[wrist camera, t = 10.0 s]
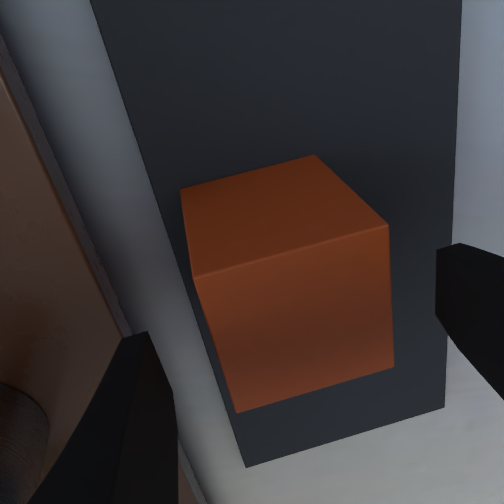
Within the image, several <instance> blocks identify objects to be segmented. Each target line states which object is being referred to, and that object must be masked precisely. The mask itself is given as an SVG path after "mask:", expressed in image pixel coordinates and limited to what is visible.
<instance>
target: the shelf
mask: <svg viewBox="0 0 504 504" xmlns="http://www.w3.org/2000/svg"><path fill="white" fill-rule="evenodd" d="M131 335H133V334H132V332H131V330H130V327H129V325H128V323H127V320H126V318H125V316H124V314H123V311H122V309H121V307H120V304H119V302H118V300H117V298H116V295H115V293H114V291H113V288H112V286H111V284H110V282H109V279H108V277H107V275H106V272H105V270H104V268H103V266H102V263H101V261H100V259H99V256H98V254H97V252H96V250H95V247H94V245H93V243H92V241H91V238H90V236H89V234H88V231H87V229H86V227H85V225H84V222H83V220H82V218H81V215H80V213H79V211H78V209H77V206H76V204H75V202H74V199H73V197H72V195H71V193H70V190H69V188H68V186H67V183H66V181H65V179H64V177H63V174H62V172H61V170H60V167H59V165H58V163H57V161H56V158H55V156H54V154H53V151H52V149H51V147H50V145H49V142H48V140H47V138H46V136H45V133H44V131H43V129H42V126H41V124H40V122H39V120H38V117H37V115H36V113H35V110H34V108H33V106H32V104H31V101H30V99H29V97H28V94H27V92H26V90H25V88H24V85H23V83H22V81H21V78H20V76H19V74H18V72H17V69H16V67H15V65H14V62H13V60H12V58H11V56H10V53H9V51H8V49H7V47H6V44H5V42H4V40H3V37H2V35H1V33H0V383H1V384H4V385H7V386H9V387H12V388H14V389H16V390H18V391H20V392H22V393H23V394H25V395H27V396H28V397H29V398H31V399H32V400H33V401H34V402H35V403H36V404H37V405H38V406H39V407H40V408H41V410H42V411H43V412H44V414H45V416H46V418H47V421H48V424H49V431H50V433H49V441H48V445H47V449H46V454H45V458H44V462H43V467H42V471H41V475H40V479H39V484H38V487H39V485H40V484H41V483H42V481H43V480H44V478H45V477H46V475H47V474H48V472H49V471H50V469H51V467H52V466H53V464H54V463H55V461H56V460H57V458H58V457H59V455H60V453H61V452H62V450H63V448H64V447H65V445H66V443H67V441H68V440H69V438H70V436H71V435H72V433H73V431H74V430H75V428H76V426H77V425H78V423H79V421H80V419H81V418H82V416H83V414H84V412H85V410H86V408H87V406H88V404H89V403H90V401H91V399H92V397H93V395H94V393H95V391H96V389H97V387H98V385H99V383H100V381H101V379H102V377H103V375H104V373H105V371H106V369H107V367H108V365H109V363H110V361H111V359H112V357H113V354H114V352H115V350H116V348H117V346H118V344H119V342H120V341H121V339H122V338H124V337H128V336H131ZM178 490H179V504H207V503H206V501H205V498H204V496H203V494H202V492H201V489H200V487H199V485H198V482H197V480H196V478H195V476H194V473H193V471H192V469H191V466H190V464H189V462H188V460H187V457H186V455H185V453H184V450H183V448H182V446H181V444H180V441H179V439H178Z"/></svg>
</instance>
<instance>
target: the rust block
mask: <svg viewBox="0 0 504 504" xmlns="http://www.w3.org/2000/svg"><path fill="white" fill-rule="evenodd" d="M180 197H181V204H182V210H183V217H184V224H185V230H186V237H187V244H188V250H189V257H190V264H191V270H192V277H193V281H194V284H195V287H196V290H197V294H198V297H199V300H200V303H201V306H202V309H203V312H204V316H205V319H206V322H207V325H208V328H209V331H210V334H211V337H212V341H213V344H214V347H215V350H216V353H217V356H218V359H219V363H220V366H221V369H222V372H223V375H224V378H225V381H226V384H227V388H228V391H229V394H230V397H231V400H232V403H233V406H234V410H235V412H236V413H240V412H244V411H247V410H250V409H254V408H257V407H261V406H264V405H267V404H271V403H274V402H277V401H281V400H284V399H288V398H291V397H294V396H298V395H301V394H304V393H308V392H311V391H315V390H318V389H321V388H325V387H328V386H331V385H335V384H338V383H342V382H345V381H348V380H352V379H355V378H358V377H362V376H365V375H369V374H372V373H375V372H379V371H382V370H385V369H389V368H392V367H394V343H393V318H392V293H391V268H390V243H389V225H388V223H387V222H385V221H384V220H383V219H382V218H381V217H380V216H379V215H378V214H377V213H376V212H375V211H374V210H373V209H372V208H371V207H370V206H369V205H368V204H366V203H365V202H364V201H363V200H362V199H361V198H360V197H359V196H358V195H357V194H356V193H355V192H354V191H353V190H352V189H351V188H350V187H349V186H348V185H346V184H345V183H344V182H343V181H342V180H341V179H340V178H339V177H338V176H337V175H336V174H335V173H334V172H333V171H332V170H331V169H330V168H329V167H327V166H326V165H325V164H324V163H323V162H322V161H321V160H320V159H319V158H318V157H317V156H316V155H310V156H306V157H303V158H299V159H295V160H291V161H287V162H283V163H279V164H275V165H272V166H268V167H264V168H260V169H256V170H252V171H248V172H244V173H241V174H237V175H233V176H229V177H225V178H221V179H217V180H213V181H210V182H206V183H202V184H198V185H194V186H190V187H186V188H182V189H180Z"/></svg>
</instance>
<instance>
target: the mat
mask: <svg viewBox="0 0 504 504" xmlns="http://www.w3.org/2000/svg"><path fill="white" fill-rule="evenodd" d="M90 3H91V6H92V9H93V12H94V15H95V18H96V21H97V24H98V27H99V30H100V33H101V36H102V39H103V42H104V45H105V48H106V51H107V54H108V57H109V60H110V63H111V66H112V69H113V72H114V75H115V78H116V81H117V84H118V87H119V90H120V93H121V96H122V99H123V102H124V105H125V108H126V111H127V114H128V117H129V120H130V123H131V126H132V129H133V132H134V135H135V138H136V141H137V144H138V147H139V150H140V153H141V156H142V159H143V162H144V165H145V168H146V171H147V174H148V177H149V180H150V183H151V186H152V189H153V192H154V195H155V198H156V201H157V204H158V207H159V210H160V213H161V216H162V219H163V222H164V225H165V228H166V231H167V234H168V237H169V240H170V243H171V246H172V249H173V252H174V255H175V258H176V261H177V264H178V267H179V270H180V273H181V276H182V279H183V282H184V285H185V288H186V291H187V294H188V297H189V300H190V303H191V306H192V309H193V312H194V315H195V318H196V321H197V324H198V327H199V330H200V333H201V336H202V339H203V342H204V345H205V348H206V351H207V354H208V357H209V360H210V363H211V366H212V369H213V372H214V375H215V377H216V380H217V383H218V386H219V389H220V392H221V395H222V398H223V401H224V404H225V407H226V410H227V413H228V416H229V419H230V422H231V425H232V428H233V431H234V434H235V437H236V440H237V443H238V446H239V449H240V452H241V455H242V458H243V461H244V464H245V467H246V468H248V467H251V466H254V465H258V464H261V463H264V462H267V461H271V460H274V459H277V458H281V457H284V456H287V455H290V454H294V453H297V452H300V451H303V450H307V449H310V448H313V447H317V446H320V445H323V444H326V443H330V442H333V441H336V440H339V439H343V438H346V437H349V436H353V435H356V434H359V433H362V432H366V431H369V430H372V429H375V428H379V427H382V426H385V425H389V424H392V423H395V422H398V421H402V420H405V419H408V418H411V417H415V416H418V415H421V414H425V413H428V412H431V411H434V410H438V409H441V408H444V406H445V383H446V360H447V337H448V334H447V332H446V331H445V329H444V327H443V326H442V324H441V323H440V321H439V320H438V318H437V317H436V315H435V287H436V249H440V248H443V247H447V246H450V245H451V244H452V221H453V198H454V175H455V152H456V129H457V106H458V83H459V60H460V37H461V14H462V0H90ZM310 155H316V156H317V157H318V158H319V159H320V160H321V161H322V162H323V163H324V164H325V165H326V166H327V167H329V168H330V169H331V170H332V171H333V172H334V173H335V174H336V175H337V176H338V177H339V178H340V179H341V180H342V181H343V182H344V183H345V184H346V185H348V186H349V187H350V188H351V189H352V190H353V191H354V192H355V193H356V194H357V195H358V196H359V197H360V198H361V199H362V200H363V201H364V202H365V203H366V204H368V205H369V206H370V207H371V208H372V209H373V210H374V211H375V212H376V213H377V214H378V215H379V216H380V217H381V218H382V219H383V220H384V221H385V222H387V223H388V225H389V243H390V268H391V293H392V318H393V343H394V367H392V368H389V369H385V370H382V371H379V372H375V373H372V374H369V375H365V376H362V377H358V378H355V379H352V380H348V381H345V382H342V383H338V384H335V385H331V386H328V387H325V388H321V389H318V390H315V391H311V392H308V393H304V394H301V395H298V396H294V397H291V398H288V399H284V400H281V401H277V402H274V403H271V404H267V405H264V406H261V407H257V408H254V409H250V410H247V411H244V412H240V413H236V412H235V410H234V406H233V403H232V400H231V397H230V394H229V391H228V388H227V384H226V381H225V378H224V375H223V372H222V369H221V366H220V363H219V359H218V356H217V353H216V350H215V347H214V344H213V341H212V337H211V334H210V331H209V328H208V325H207V322H206V319H205V316H204V312H203V309H202V306H201V303H200V300H199V297H198V294H197V290H196V287H195V284H194V281H193V277H192V270H191V264H190V257H189V250H188V244H187V237H186V230H185V224H184V217H183V210H182V204H181V197H180V189H182V188H186V187H190V186H194V185H198V184H202V183H206V182H210V181H213V180H217V179H221V178H225V177H229V176H233V175H237V174H241V173H244V172H248V171H252V170H256V169H260V168H264V167H268V166H272V165H275V164H279V163H283V162H287V161H291V160H295V159H299V158H303V157H306V156H310Z"/></svg>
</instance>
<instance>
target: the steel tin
mask: <svg viewBox="0 0 504 504" xmlns="http://www.w3.org/2000/svg"><path fill="white" fill-rule="evenodd" d="M49 433H50V431H49V424H48V421H47V418H46V416H45V414H44V412H43V411H42V410H41V408H40V407H39V406H38V405H37V404H36V403H35V402H34V401H33V400H32V399H31V398H29V397H28V396H27V395H25V394H23V393H22V392H20V391H18V390H16V389H14V388H12V387H9V386H7V385H4V384H1V383H0V504H27V503H28V501H29V500H30V498H31V497H32V495H33V494H34V493H35V491H36V490H37V488H38V484H39V479H40V475H41V471H42V467H43V462H44V458H45V454H46V449H47V445H48V441H49Z"/></svg>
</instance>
